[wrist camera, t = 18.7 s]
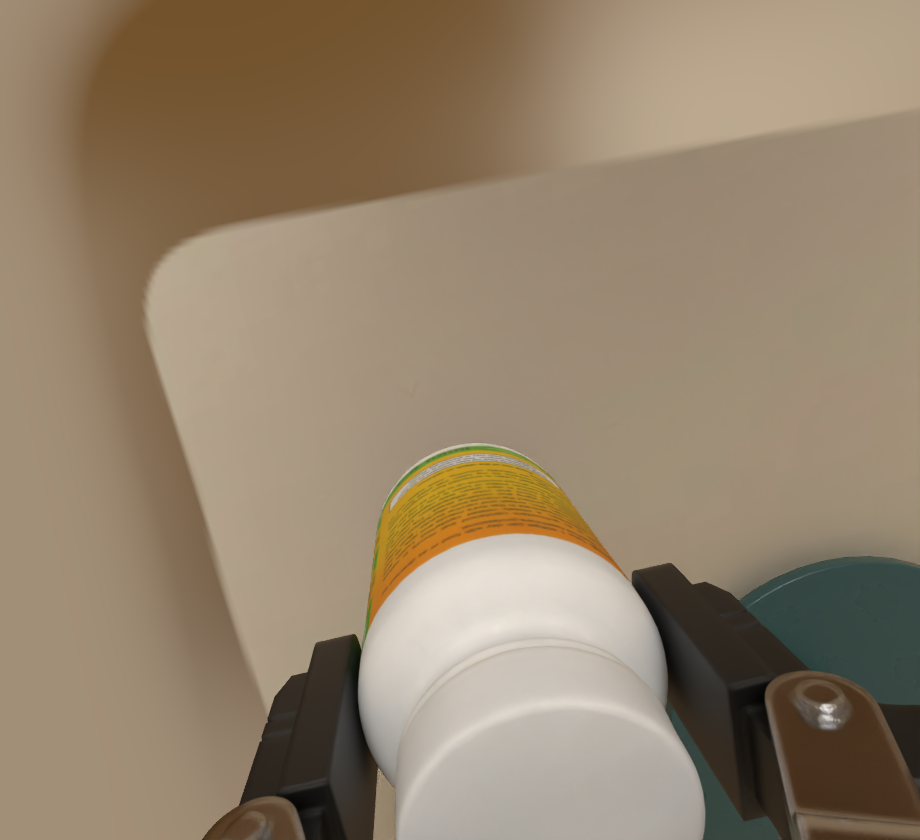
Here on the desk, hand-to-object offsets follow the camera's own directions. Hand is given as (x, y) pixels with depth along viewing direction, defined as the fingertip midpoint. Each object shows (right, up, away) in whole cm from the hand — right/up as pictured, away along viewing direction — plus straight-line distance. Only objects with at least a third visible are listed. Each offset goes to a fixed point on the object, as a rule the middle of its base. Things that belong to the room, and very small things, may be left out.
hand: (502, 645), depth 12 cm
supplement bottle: (0, +1, +6) cm, 6 cm away
